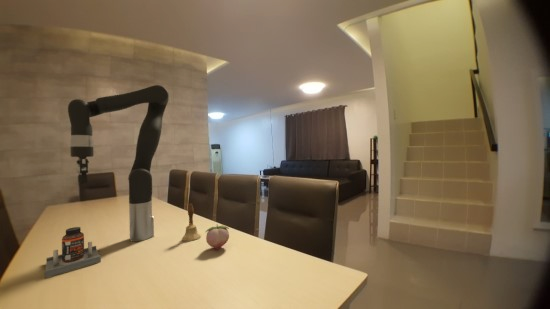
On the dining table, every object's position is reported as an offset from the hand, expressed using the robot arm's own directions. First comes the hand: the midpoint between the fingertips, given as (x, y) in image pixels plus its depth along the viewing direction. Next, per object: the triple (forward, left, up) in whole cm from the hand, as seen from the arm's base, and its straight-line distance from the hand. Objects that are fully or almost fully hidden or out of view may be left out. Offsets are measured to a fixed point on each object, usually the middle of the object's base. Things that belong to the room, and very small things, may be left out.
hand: (82, 182), depth 93 cm
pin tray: (+4, +17, -28) cm, 33 cm away
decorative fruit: (-38, +47, -28) cm, 67 cm away
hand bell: (-36, +27, -28) cm, 53 cm away
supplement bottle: (+4, +17, -27) cm, 32 cm away
